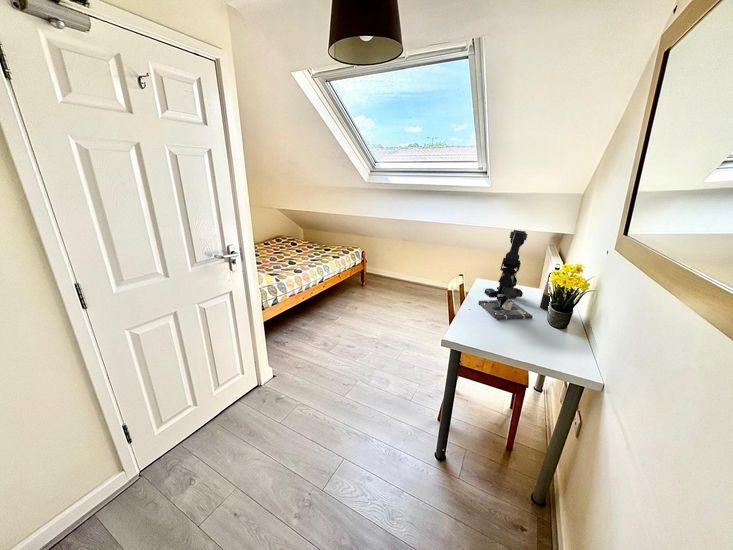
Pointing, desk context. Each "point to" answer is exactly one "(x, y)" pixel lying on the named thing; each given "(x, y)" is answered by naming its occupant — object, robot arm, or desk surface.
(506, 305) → the lever
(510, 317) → the cord bundle outer
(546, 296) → the travel mug
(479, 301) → the cord bundle inner
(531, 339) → the desk surface
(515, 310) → the breaker panel
